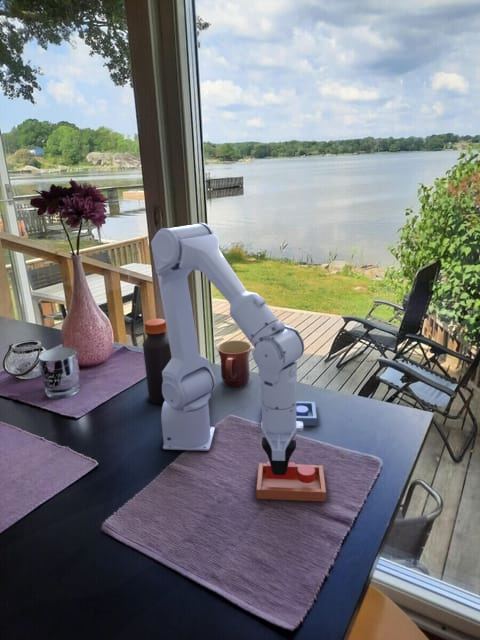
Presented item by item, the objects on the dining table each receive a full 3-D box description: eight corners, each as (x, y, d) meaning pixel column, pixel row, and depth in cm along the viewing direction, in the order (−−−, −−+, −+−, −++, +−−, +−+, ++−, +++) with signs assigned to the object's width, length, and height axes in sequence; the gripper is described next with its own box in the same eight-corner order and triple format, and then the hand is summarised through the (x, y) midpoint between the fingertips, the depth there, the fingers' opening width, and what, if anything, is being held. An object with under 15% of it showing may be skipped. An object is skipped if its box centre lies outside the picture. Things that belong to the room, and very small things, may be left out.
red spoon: (266, 481, 76) (266, 469, 75) (267, 470, 79) (266, 458, 78) (315, 483, 75) (315, 470, 74) (314, 472, 78) (314, 459, 77)
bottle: (143, 402, 107) (134, 325, 101) (158, 389, 113) (151, 315, 106) (167, 407, 105) (159, 328, 98) (181, 393, 111) (175, 318, 104)
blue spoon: (270, 418, 98) (270, 407, 97) (271, 411, 101) (270, 400, 100) (308, 418, 97) (308, 408, 96) (307, 411, 100) (308, 401, 99)
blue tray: (262, 424, 96) (262, 417, 96) (264, 407, 103) (264, 400, 102) (316, 425, 95) (316, 418, 94) (314, 408, 102) (314, 401, 101)
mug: (223, 374, 120) (221, 339, 117) (255, 376, 118) (254, 341, 115) (212, 396, 109) (209, 358, 106) (246, 398, 107) (245, 360, 104)
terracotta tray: (256, 498, 75) (256, 489, 74) (258, 471, 81) (258, 462, 81) (325, 501, 74) (326, 492, 73) (322, 473, 80) (322, 465, 80)
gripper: (305, 425, 65) (304, 500, 69) (301, 380, 79) (301, 445, 83) (257, 424, 66) (259, 498, 70) (262, 380, 79) (263, 444, 84)
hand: (279, 469), depth 77 cm, fingers closed on red spoon
